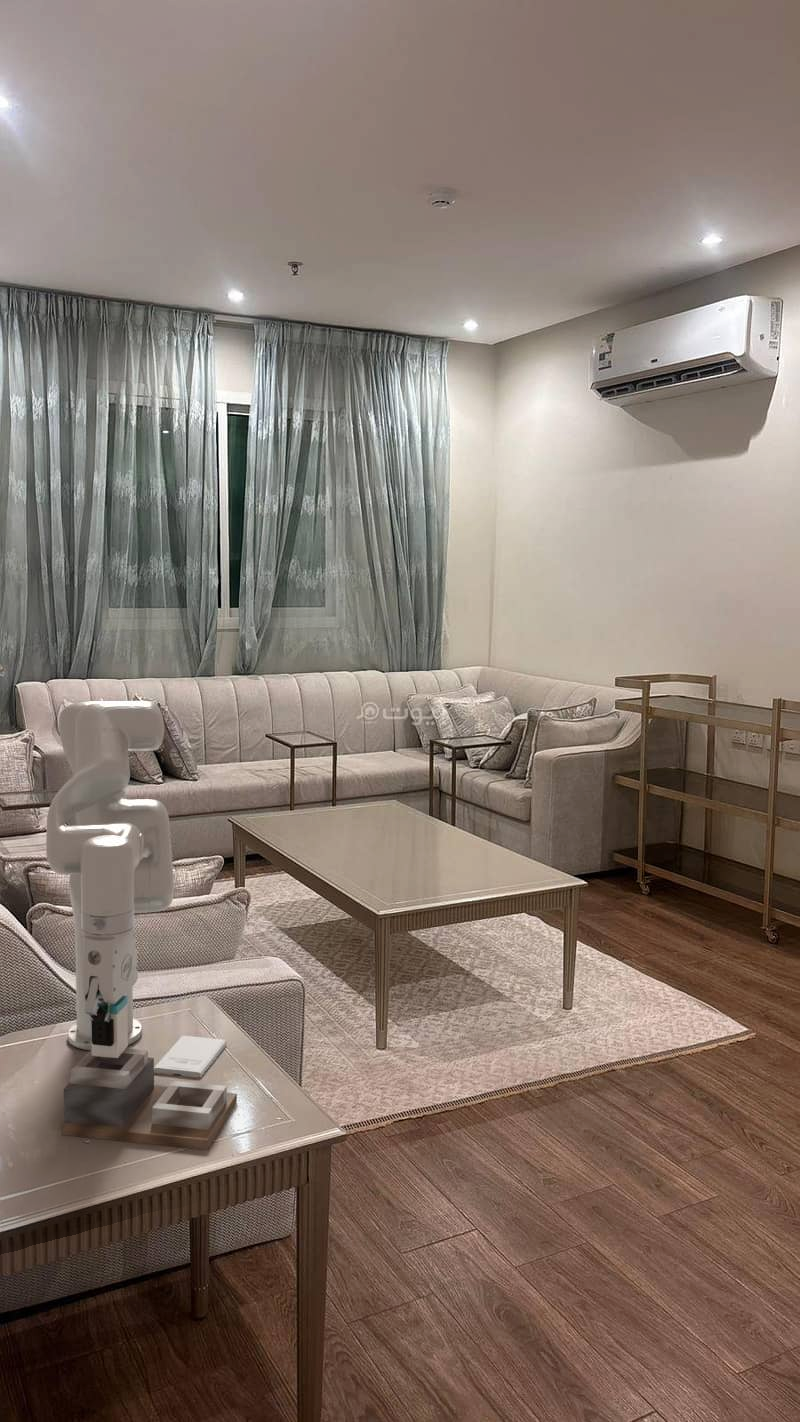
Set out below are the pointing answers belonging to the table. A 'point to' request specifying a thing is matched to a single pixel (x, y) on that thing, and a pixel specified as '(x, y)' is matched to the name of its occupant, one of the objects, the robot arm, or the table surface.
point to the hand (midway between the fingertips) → (109, 1036)
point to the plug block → (115, 1031)
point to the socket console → (141, 1104)
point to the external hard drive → (190, 1056)
